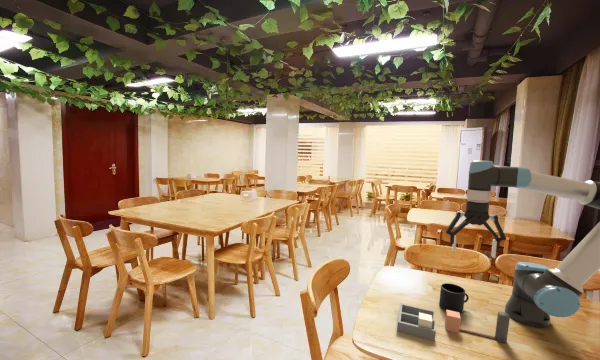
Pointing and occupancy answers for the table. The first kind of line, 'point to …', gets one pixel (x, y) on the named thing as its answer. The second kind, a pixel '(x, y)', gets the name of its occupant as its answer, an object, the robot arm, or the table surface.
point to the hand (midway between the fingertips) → (472, 254)
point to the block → (425, 320)
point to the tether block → (500, 335)
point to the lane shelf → (414, 321)
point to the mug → (452, 297)
